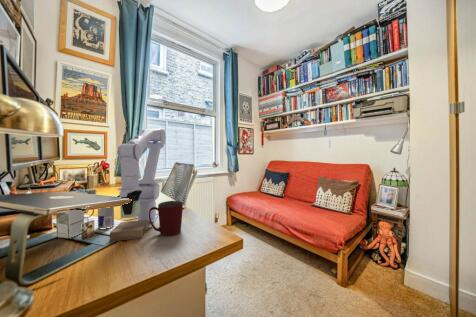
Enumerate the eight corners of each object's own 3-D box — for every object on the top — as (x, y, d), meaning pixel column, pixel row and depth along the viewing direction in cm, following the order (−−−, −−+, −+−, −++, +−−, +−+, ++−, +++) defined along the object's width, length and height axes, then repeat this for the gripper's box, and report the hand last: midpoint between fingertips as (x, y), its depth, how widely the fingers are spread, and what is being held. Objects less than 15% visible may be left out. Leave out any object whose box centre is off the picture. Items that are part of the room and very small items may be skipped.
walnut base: (121, 229, 74) (121, 222, 74) (148, 227, 77) (148, 220, 76) (109, 241, 65) (109, 232, 65) (141, 238, 67) (141, 230, 67)
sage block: (125, 214, 72) (125, 201, 72) (139, 213, 73) (139, 200, 73) (120, 218, 67) (120, 204, 67) (135, 217, 68) (135, 203, 68)
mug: (149, 241, 65) (149, 209, 65) (148, 231, 73) (148, 203, 72) (184, 234, 70) (184, 205, 70) (180, 226, 78) (180, 199, 78)
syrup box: (85, 232, 71) (84, 194, 71) (68, 239, 66) (68, 198, 65) (72, 231, 72) (72, 194, 72) (55, 238, 67) (54, 197, 66)
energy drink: (100, 225, 78) (100, 197, 78) (115, 223, 80) (115, 196, 80) (96, 230, 73) (95, 200, 73) (112, 228, 75) (111, 198, 75)
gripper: (125, 173, 76) (126, 207, 77) (109, 178, 62) (109, 219, 62) (144, 173, 78) (144, 206, 78) (132, 178, 64) (133, 218, 64)
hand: (130, 212), depth 70 cm, fingers closed on sage block, 5 cm apart
